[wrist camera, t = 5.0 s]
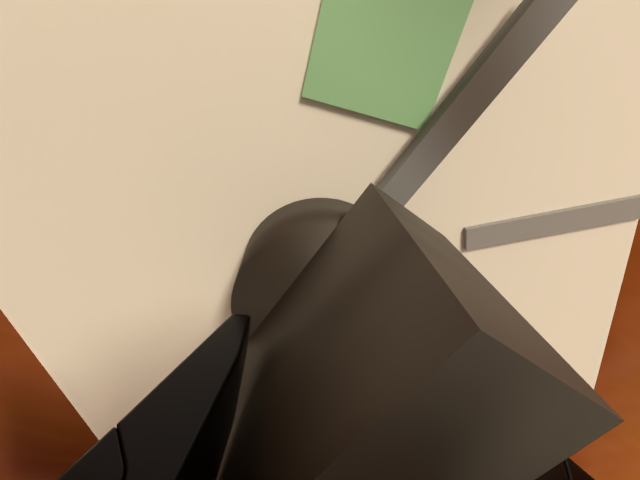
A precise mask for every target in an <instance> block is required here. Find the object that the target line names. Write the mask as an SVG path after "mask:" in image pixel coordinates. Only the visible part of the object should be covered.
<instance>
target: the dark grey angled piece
mask: <svg viewBox="0 0 640 480" xmlns="http://www.w3.org/2000/svg"><path fill="white" fill-rule="evenodd" d="M577 1H578V0H523V1H522V2H521V3H520V4H519V6H518V7H517V8H516V10H515V11H514V12H513V13H512V15H511V16H510V17H509V18H508V20H507V21H506V22H505V23H504V25H503V26H502V27H501V29H500V30H499V31H498V32H497V34H496V35H495V36H494V37H493V39H492V40H491V41H490V42H489V44H488V45H487V46H486V47H485V49H484V50H483V51H482V53H481V54H480V55H479V56H478V58H477V59H476V60H475V61H474V63H473V64H472V65H471V66H470V68H469V69H468V70H467V72H466V73H465V74H464V75H463V77H462V78H461V79H460V80H459V82H458V83H457V84H456V85H455V87H454V88H453V89H452V91H451V92H450V93H449V94H448V96H447V97H446V98H445V99H444V101H443V102H442V103H441V104H440V106H439V107H438V108H437V110H436V111H435V112H434V113H433V115H432V116H431V117H430V118H429V120H428V121H427V122H426V123H425V125H424V126H423V127H422V129H421V130H420V131H419V132H418V134H417V135H416V136H415V137H414V139H413V140H412V141H411V142H410V144H409V145H408V146H407V148H406V149H405V150H404V151H403V153H402V154H401V155H400V156H399V158H398V159H397V160H396V161H395V163H394V164H393V165H392V167H391V168H390V169H389V170H388V172H387V173H386V174H385V175H384V177H383V178H382V179H381V180H380V182H379V183H378V184H377V185H376V186H375V185H374V184H372V183H370V184H369V185H368V187H367V188H366V189H365V191H364V192H363V193H362V194H361V196H360V197H359V198H358V200H357V201H356V202H355V203H354V204H351V203H349V202H346V201H342V200H339V199H332V198H309V199H303V200H299V201H295V202H293V203H290V204H287V205H285V206H283V207H281V208H279V209H277V210H276V211H274V212H273V213H272V214H270V215H269V216H267V217H266V218H265V219H264V220H263V221H262V222H261V223H260V224H259V226H258V227H257V228H256V229H255V231H254V232H253V234H252V236H251V237H250V239H249V242H248V244H247V247H246V249H245V253H244V256H243V259H242V262H241V265H240V268H239V271H238V274H237V277H236V280H235V283H234V286H233V291H232V295H231V314H244V315H249V316H250V317H251V321H250V330H249V339H248V347H247V353H246V359H245V364H244V370H243V376H242V381H241V387H240V393H239V398H238V404H237V409H236V414H235V418H234V422H233V426H232V429H231V432H230V436H229V439H228V442H227V446H226V449H225V453H224V456H223V459H222V463H221V466H220V469H219V473H218V476H217V479H216V480H535V479H537V478H538V477H540V476H541V475H543V474H544V473H546V472H547V471H549V470H550V469H552V468H553V467H555V466H556V465H558V464H559V463H561V462H562V461H564V460H565V459H567V458H569V457H570V456H572V455H573V454H575V453H576V452H578V451H579V450H581V449H582V448H584V447H585V446H587V445H588V444H590V443H591V442H593V441H594V440H596V439H597V438H599V437H600V436H602V435H603V434H605V433H606V432H608V431H610V430H611V429H613V428H614V427H616V426H617V425H619V424H620V423H622V422H623V421H624V420H623V419H622V418H621V417H620V416H619V415H618V414H617V413H616V412H615V411H614V410H613V409H612V408H611V407H610V406H609V405H608V404H607V403H606V402H605V401H604V400H603V399H602V398H601V397H600V396H599V395H598V394H597V392H596V391H595V390H594V389H593V388H592V387H591V386H590V385H589V384H588V383H587V382H586V381H585V380H584V379H583V378H582V377H581V376H580V375H579V374H578V373H577V372H576V371H575V370H574V369H573V368H572V367H571V366H570V365H569V364H568V363H567V362H566V361H565V360H564V359H563V357H562V356H561V355H560V354H559V353H558V352H557V351H556V350H555V349H554V348H553V347H552V346H551V345H550V344H549V343H548V342H547V341H546V340H545V339H544V338H543V337H542V336H541V335H540V334H539V333H538V332H537V331H536V330H535V329H534V328H533V327H532V326H531V325H530V323H529V322H528V321H527V320H526V319H525V318H524V317H523V316H522V315H521V314H520V313H519V312H518V311H517V310H516V309H515V308H514V307H513V306H512V305H511V304H510V303H509V302H508V301H507V300H506V299H505V298H504V297H503V296H502V295H501V294H500V293H499V292H498V291H497V290H496V288H495V287H494V286H493V285H492V284H491V283H490V282H489V281H488V280H487V279H486V278H485V277H484V276H483V275H482V274H481V273H480V272H479V271H478V270H477V269H476V268H475V267H474V266H473V265H472V264H471V263H470V262H469V261H468V260H467V259H466V258H465V257H464V256H463V254H462V253H461V252H460V251H459V250H458V249H457V248H456V247H455V246H454V245H453V244H452V243H451V242H450V241H449V240H448V239H447V238H446V237H445V236H444V235H443V234H441V233H440V232H438V231H437V230H436V229H434V228H433V227H431V226H430V225H429V224H427V223H426V222H425V221H423V220H422V219H420V218H419V217H418V216H416V215H415V214H414V213H412V212H411V211H409V210H408V209H407V208H405V207H404V206H405V205H406V203H407V202H408V201H409V200H410V199H411V197H412V196H413V195H414V194H415V193H416V192H417V190H418V189H419V188H420V187H421V186H422V184H423V183H424V182H425V181H426V180H427V178H428V177H429V176H430V175H431V174H432V173H433V171H434V170H435V169H436V168H437V167H438V165H439V164H440V163H441V162H442V161H443V160H444V158H445V157H446V156H447V155H448V154H449V152H450V151H451V150H452V149H453V148H454V147H455V145H456V144H457V143H458V142H459V141H460V139H461V138H462V137H463V136H464V135H465V133H466V132H467V131H468V130H469V129H470V128H471V126H472V125H473V124H474V123H475V122H476V120H477V119H478V118H479V117H480V116H481V115H482V113H483V112H484V111H485V110H486V109H487V107H488V106H489V105H490V104H491V103H492V101H493V100H494V99H495V98H496V97H497V96H498V94H499V93H500V92H501V91H502V90H503V88H504V87H505V86H506V85H507V84H508V83H509V81H510V80H511V79H512V78H513V77H514V75H515V74H516V73H517V72H518V71H519V70H520V68H521V67H522V66H523V65H524V64H525V62H526V61H527V60H528V59H529V58H530V56H531V55H532V54H533V53H534V52H535V51H536V49H537V48H538V47H539V46H540V45H541V43H542V42H543V41H544V40H545V39H546V38H547V36H548V35H549V34H550V33H551V32H552V30H553V29H554V28H555V27H556V26H557V24H558V23H559V22H560V21H561V20H562V19H563V17H564V16H565V15H566V14H567V13H568V11H569V10H570V9H571V8H572V7H573V6H574V4H575V3H576V2H577Z"/></svg>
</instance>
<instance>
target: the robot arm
mask: <svg viewBox="0 0 640 480" xmlns="http://www.w3.org/2000/svg"><path fill="white" fill-rule="evenodd" d="M250 321H251V317H250V316H249V315H244V314H232V315H231V316H230V317H229V318H228V319H227V320H226V321H225V322H223V323H222V324H221V325H220V326H219V327H218V328H217V329H216V330H215V331H214V332H213V333H212V334H211V335H210V336H209V337H208V338H207V339H206V340H205V341H204V342H202V343H201V344H200V345H199V346H198V347H197V348H196V349H195V350H194V351H193V352H192V353H191V354H190V355H189V356H188V357H187V358H186V359H185V360H184V361H182V362H181V363H180V364H179V365H178V366H177V367H176V368H175V369H174V370H173V371H172V372H171V373H170V374H169V375H168V376H167V377H166V378H165V379H164V380H163V381H161V382H160V383H159V384H158V385H157V386H156V387H155V388H154V389H153V390H152V391H151V392H150V393H149V394H148V395H147V396H146V397H145V398H144V399H143V400H141V401H140V402H139V403H138V404H137V405H136V406H135V407H134V408H133V409H132V410H131V411H130V412H129V413H128V414H127V415H126V416H125V417H124V418H123V419H121V420H120V421H119V422H118V423H117V428H116V427H113V428H112V429H111V430H110V431H109V432H107V433H106V434H105V435H104V436H103V437H102V438H101V439H100V440H99V441H98V442H97V443H96V444H95V445H94V446H93V447H92V448H91V449H90V450H88V451H87V452H86V453H85V454H84V455H83V456H82V457H81V458H80V459H79V460H77V461H76V462H75V463H74V464H73V465H72V466H71V467H70V468H69V469H68V470H66V471H65V472H64V473H63V474H62V475H61V476H60V477H59V478H57V479H56V480H216V479H217V476H218V473H219V469H220V466H221V463H222V459H223V456H224V453H225V449H226V446H227V442H228V439H229V436H230V432H231V429H232V426H233V422H234V418H235V414H236V409H237V404H238V398H239V393H240V387H241V381H242V376H243V370H244V364H245V359H246V353H247V347H248V339H249V330H250ZM535 480H595V479H593V478H592V477H591V476H590V475H589V474H587V473H586V472H585V471H584V470H583V469H581V468H580V467H579V466H578V465H577V464H576V463H574V462H573V461H572V460H571V459H570V458H567V459H565V460H564V461H562V462H561V463H559V464H558V465H556V466H555V467H553V468H552V469H550V470H549V471H547V472H546V473H544V474H543V475H541V476H540V477H538V478H537V479H535Z"/></svg>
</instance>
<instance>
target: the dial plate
mask: <svg viewBox="0 0 640 480" xmlns="http://www.w3.org/2000/svg"><path fill="white" fill-rule="evenodd" d="M522 1H523V0H0V309H1V310H2V312H3V313H4V314H5V316H6V317H7V318H8V320H9V321H10V322H11V324H12V325H13V326H14V328H15V329H16V330H17V332H18V333H19V334H20V336H21V337H22V338H23V340H24V341H25V342H26V344H27V345H28V346H29V348H30V349H31V350H32V352H33V353H34V354H35V356H36V357H37V358H38V360H39V361H40V362H41V364H42V365H43V366H44V368H45V369H46V370H47V372H48V373H49V374H50V376H51V377H52V378H53V380H54V381H55V382H56V384H57V385H58V386H59V388H60V389H61V390H62V392H63V393H64V394H65V396H66V397H67V398H68V400H69V401H70V402H71V404H72V405H73V406H74V408H75V409H76V410H77V412H78V413H79V414H80V416H81V417H82V418H83V420H84V421H85V422H86V424H87V425H88V426H89V428H90V429H91V430H92V432H93V433H94V434H95V436H96V437H97V438H98V440H100V439H101V438H102V437H103V436H104V435H105V434H106V433H107V432H109V431H110V430H111V429H112V428H113V427H116V428H117V423H118V422H119V421H120V420H121V419H123V418H124V417H125V416H126V415H127V414H128V413H129V412H130V411H131V410H132V409H133V408H134V407H135V406H136V405H137V404H138V403H139V402H140V401H141V400H143V399H144V398H145V397H146V396H147V395H148V394H149V393H150V392H151V391H152V390H153V389H154V388H155V387H156V386H157V385H158V384H159V383H160V382H161V381H163V380H164V379H165V378H166V377H167V376H168V375H169V374H170V373H171V372H172V371H173V370H174V369H175V368H176V367H177V366H178V365H179V364H180V363H181V362H182V361H184V360H185V359H186V358H187V357H188V356H189V355H190V354H191V353H192V352H193V351H194V350H195V349H196V348H197V347H198V346H199V345H200V344H201V343H202V342H204V341H205V340H206V339H207V338H208V337H209V336H210V335H211V334H212V333H213V332H214V331H215V330H216V329H217V328H218V327H219V326H220V325H221V324H222V323H223V322H225V321H226V320H227V319H228V318H229V317H230V316H231V315H232V314H231V295H232V291H233V286H234V283H235V280H236V277H237V274H238V271H239V268H240V265H241V262H242V259H243V256H244V253H245V249H246V247H247V244H248V242H249V239H250V237H251V236H252V234H253V232H254V231H255V229H256V228H257V227H258V226H259V224H260V223H261V222H262V221H263V220H264V219H265V218H266V217H267V216H269V215H270V214H272V213H273V212H274V211H276V210H277V209H279V208H281V207H283V206H285V205H287V204H290V203H293V202H295V201H299V200H303V199H309V198H332V199H339V200H342V201H346V202H349V203H351V204H354V203H355V202H356V201H357V200H358V198H359V197H360V196H361V194H362V193H363V192H364V191H365V189H366V188H367V187H368V185H369V184H370V183H372V184H374V185H375V186H376V185H377V184H378V183H379V182H380V180H381V179H382V178H383V177H384V175H385V174H386V173H387V172H388V170H389V169H390V168H391V167H392V165H393V164H394V163H395V161H396V160H397V159H398V158H399V156H400V155H401V154H402V153H403V151H404V150H405V149H406V148H407V146H408V145H409V144H410V142H411V141H412V140H413V139H414V137H415V136H416V135H417V134H418V132H419V131H420V130H421V129H422V127H423V126H424V125H425V123H426V122H427V121H428V120H429V118H430V117H431V116H432V115H433V113H434V112H435V111H436V110H437V108H438V107H439V106H440V104H441V103H442V102H443V101H444V99H445V98H446V97H447V96H448V94H449V93H450V92H451V91H452V89H453V88H454V87H455V85H456V84H457V83H458V82H459V80H460V79H461V78H462V77H463V75H464V74H465V73H466V72H467V70H468V69H469V68H470V66H471V65H472V64H473V63H474V61H475V60H476V59H477V58H478V56H479V55H480V54H481V53H482V51H483V50H484V49H485V47H486V46H487V45H488V44H489V42H490V41H491V40H492V39H493V37H494V36H495V35H496V34H497V32H498V31H499V30H500V29H501V27H502V26H503V25H504V23H505V22H506V21H507V20H508V18H509V17H510V16H511V15H512V13H513V12H514V11H515V10H516V8H517V7H518V6H519V4H520V3H521V2H522ZM404 207H405V208H407V209H408V210H409V211H411V212H412V213H414V214H415V215H416V216H418V217H419V218H420V219H422V220H423V221H425V222H426V223H427V224H429V225H430V226H431V227H433V228H434V229H436V230H437V231H438V232H440V233H441V234H443V235H444V236H445V237H446V238H447V239H448V240H449V241H450V242H451V243H452V244H453V245H454V246H455V247H456V248H457V249H458V250H459V251H460V252H461V253H462V254H463V256H464V257H465V258H466V259H467V260H468V261H469V262H470V263H471V264H472V265H473V266H474V267H475V268H476V269H477V270H478V271H479V272H480V273H481V274H482V275H483V276H484V277H485V278H486V279H487V280H488V281H489V282H490V283H491V284H492V285H493V286H494V287H495V288H496V290H497V291H498V292H499V293H500V294H501V295H502V296H503V297H504V298H505V299H506V300H507V301H508V302H509V303H510V304H511V305H512V306H513V307H514V308H515V309H516V310H517V311H518V312H519V313H520V314H521V315H522V316H523V317H524V318H525V319H526V320H527V321H528V322H529V323H530V325H531V326H532V327H533V328H534V329H535V330H536V331H537V332H538V333H539V334H540V335H541V336H542V337H543V338H544V339H545V340H546V341H547V342H548V343H549V344H550V345H551V346H552V347H553V348H554V349H555V350H556V351H557V352H558V353H559V354H560V355H561V356H562V357H563V359H564V360H565V361H566V362H567V363H568V364H569V365H570V366H571V367H572V368H573V369H574V370H575V371H576V372H577V373H578V374H579V375H580V376H581V377H582V378H583V379H584V380H585V381H586V382H587V383H588V384H589V385H590V386H591V387H592V388H593V389H594V387H595V383H596V379H597V375H598V372H599V368H600V364H601V360H602V356H603V353H604V349H605V345H606V341H607V337H608V333H609V330H610V326H611V322H612V318H613V314H614V311H615V307H616V303H617V299H618V295H619V291H620V288H621V284H622V280H623V276H624V272H625V269H626V265H627V261H628V257H629V253H630V250H631V246H632V242H633V238H634V234H635V230H636V227H637V223H638V219H640V0H578V1H577V2H576V3H575V4H574V6H573V7H572V8H571V9H570V10H569V11H568V13H567V14H566V15H565V16H564V17H563V19H562V20H561V21H560V22H559V23H558V24H557V26H556V27H555V28H554V29H553V30H552V32H551V33H550V34H549V35H548V36H547V38H546V39H545V40H544V41H543V42H542V43H541V45H540V46H539V47H538V48H537V49H536V51H535V52H534V53H533V54H532V55H531V56H530V58H529V59H528V60H527V61H526V62H525V64H524V65H523V66H522V67H521V68H520V70H519V71H518V72H517V73H516V74H515V75H514V77H513V78H512V79H511V80H510V81H509V83H508V84H507V85H506V86H505V87H504V88H503V90H502V91H501V92H500V93H499V94H498V96H497V97H496V98H495V99H494V100H493V101H492V103H491V104H490V105H489V106H488V107H487V109H486V110H485V111H484V112H483V113H482V115H481V116H480V117H479V118H478V119H477V120H476V122H475V123H474V124H473V125H472V126H471V128H470V129H469V130H468V131H467V132H466V133H465V135H464V136H463V137H462V138H461V139H460V141H459V142H458V143H457V144H456V145H455V147H454V148H453V149H452V150H451V151H450V152H449V154H448V155H447V156H446V157H445V158H444V160H443V161H442V162H441V163H440V164H439V165H438V167H437V168H436V169H435V170H434V171H433V173H432V174H431V175H430V176H429V177H428V178H427V180H426V181H425V182H424V183H423V184H422V186H421V187H420V188H419V189H418V190H417V192H416V193H415V194H414V195H413V196H412V197H411V199H410V200H409V201H408V202H407V203H406V205H405V206H404Z"/></svg>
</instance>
